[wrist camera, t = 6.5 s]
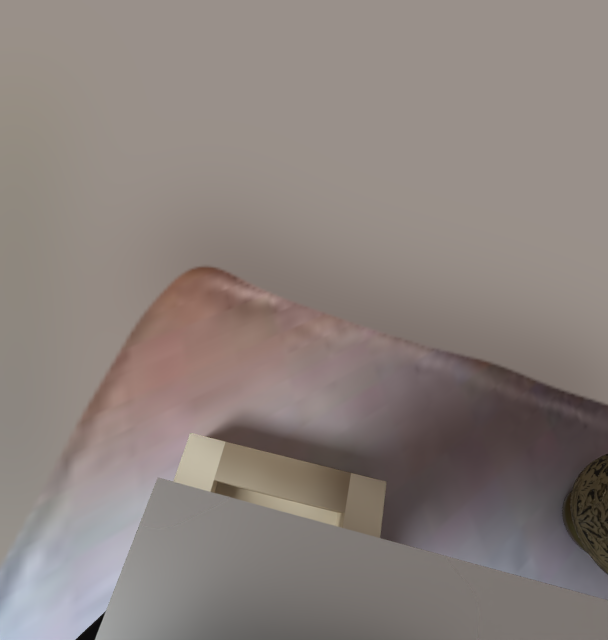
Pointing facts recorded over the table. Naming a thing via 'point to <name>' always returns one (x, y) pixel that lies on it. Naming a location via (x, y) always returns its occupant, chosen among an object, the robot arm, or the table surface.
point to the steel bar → (317, 583)
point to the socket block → (283, 484)
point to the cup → (590, 511)
